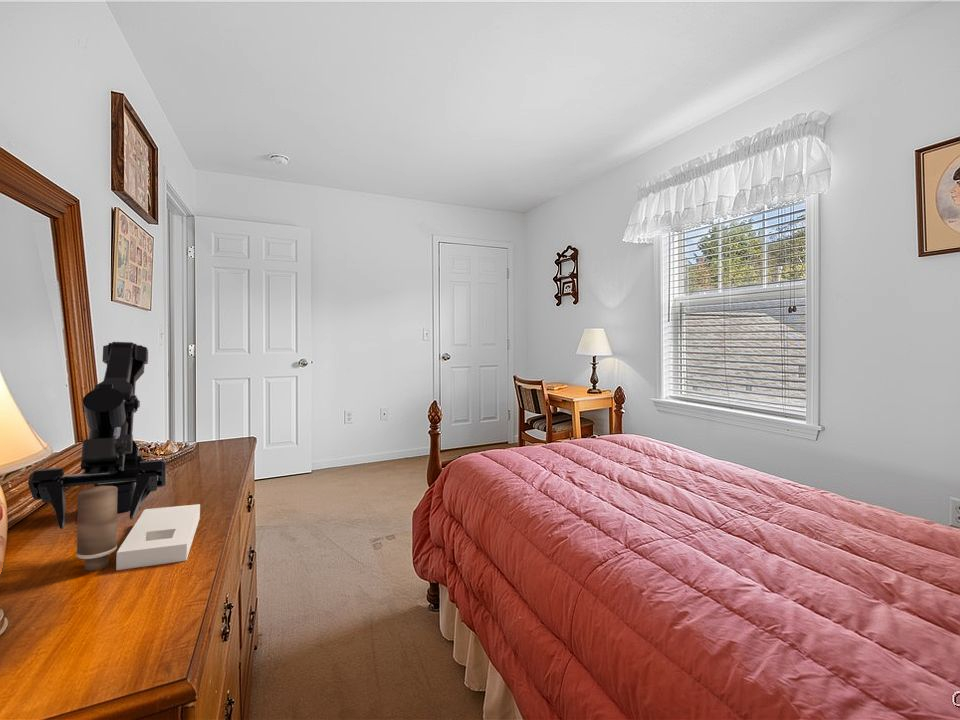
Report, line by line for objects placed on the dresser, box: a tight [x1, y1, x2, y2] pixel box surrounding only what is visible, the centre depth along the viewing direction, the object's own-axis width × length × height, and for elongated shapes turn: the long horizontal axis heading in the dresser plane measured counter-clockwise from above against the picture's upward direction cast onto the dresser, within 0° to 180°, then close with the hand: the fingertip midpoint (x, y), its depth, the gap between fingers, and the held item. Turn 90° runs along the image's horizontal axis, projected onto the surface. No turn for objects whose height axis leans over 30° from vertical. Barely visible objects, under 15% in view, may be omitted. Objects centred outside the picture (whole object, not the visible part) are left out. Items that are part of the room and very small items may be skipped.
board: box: [115, 503, 201, 571], centre depth 90 cm, size 22×10×3 cm, turn 26°
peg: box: [75, 486, 118, 572], centre depth 79 cm, size 5×5×13 cm
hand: (97, 522), depth 79 cm, fingers open, 9 cm apart
